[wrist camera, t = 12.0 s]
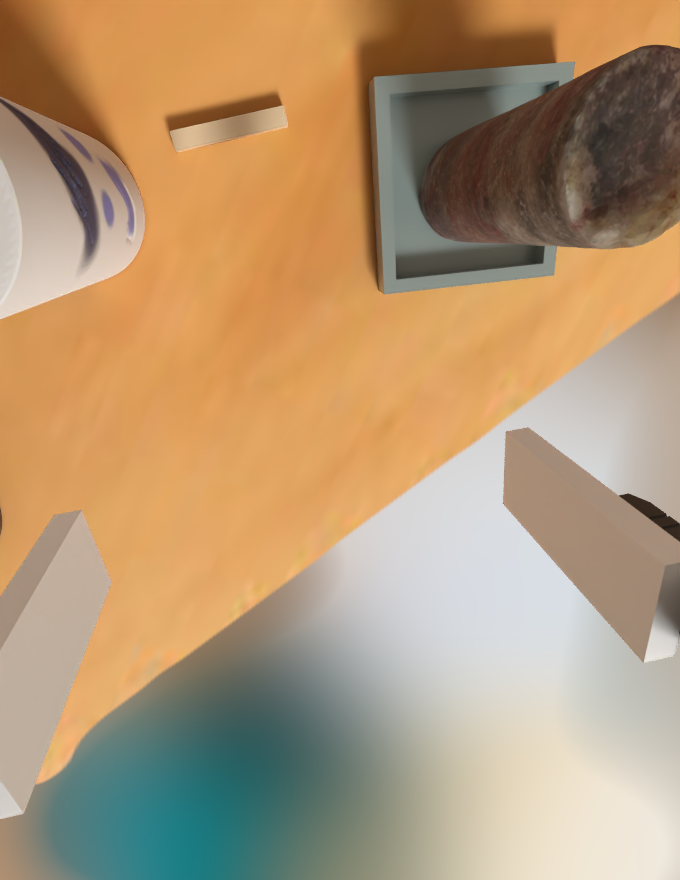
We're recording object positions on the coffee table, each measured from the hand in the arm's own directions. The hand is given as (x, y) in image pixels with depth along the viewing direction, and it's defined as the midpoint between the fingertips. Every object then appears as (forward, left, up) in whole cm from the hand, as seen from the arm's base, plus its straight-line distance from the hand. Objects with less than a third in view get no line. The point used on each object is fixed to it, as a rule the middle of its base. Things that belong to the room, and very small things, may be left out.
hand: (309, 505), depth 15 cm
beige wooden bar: (-2, +14, -28) cm, 32 cm away
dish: (+15, +9, -28) cm, 33 cm away
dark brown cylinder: (+15, +9, -28) cm, 33 cm away
